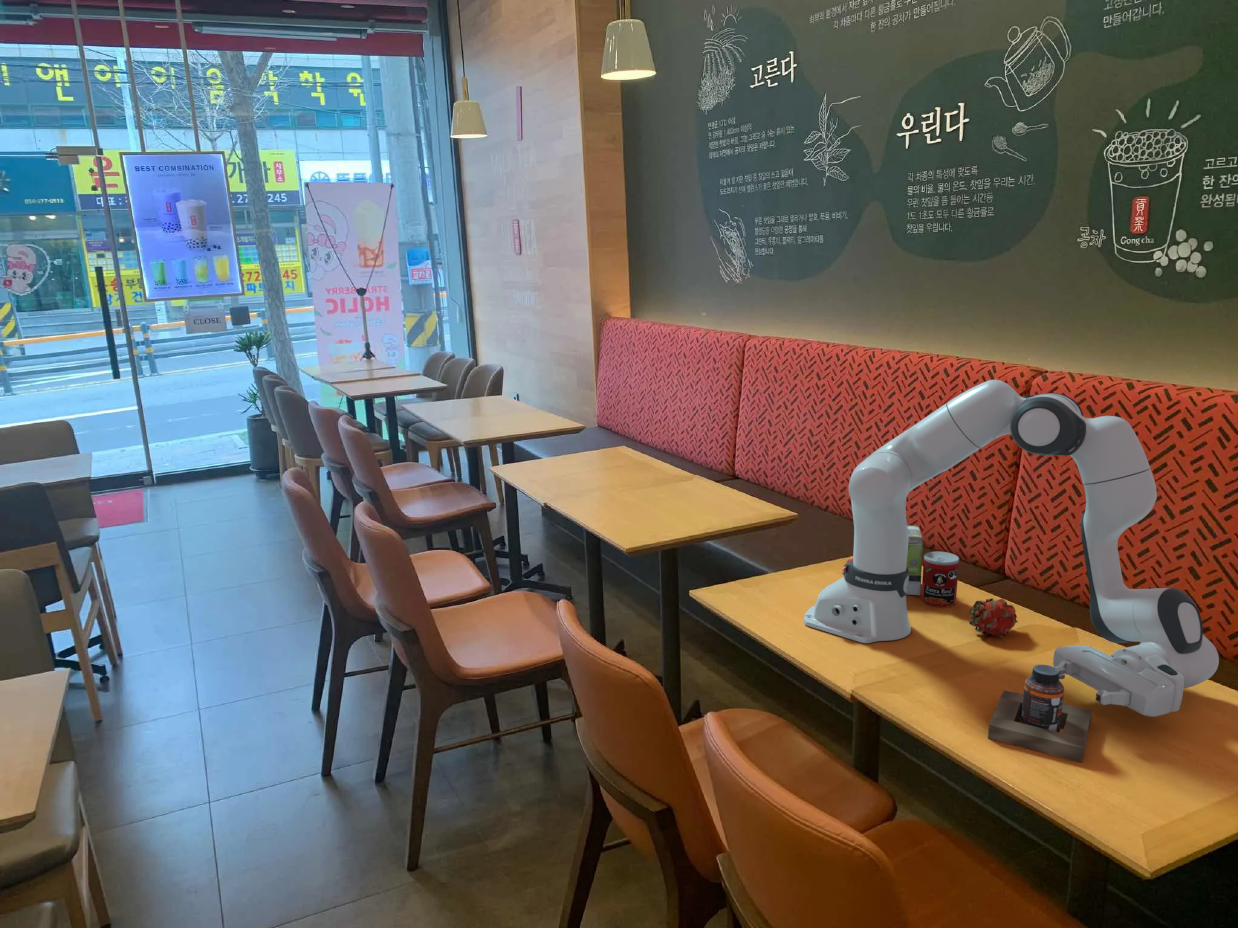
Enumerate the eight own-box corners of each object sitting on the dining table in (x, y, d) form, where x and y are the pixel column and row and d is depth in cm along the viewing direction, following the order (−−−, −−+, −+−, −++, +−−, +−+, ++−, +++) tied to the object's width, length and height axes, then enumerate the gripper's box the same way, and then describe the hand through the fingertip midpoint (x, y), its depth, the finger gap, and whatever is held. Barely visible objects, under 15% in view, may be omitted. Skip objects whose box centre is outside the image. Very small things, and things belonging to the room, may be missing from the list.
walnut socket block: (987, 738, 146) (988, 724, 145) (1002, 702, 157) (1003, 689, 156) (1081, 762, 138) (1083, 748, 138) (1090, 723, 150) (1091, 709, 149)
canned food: (920, 605, 201) (923, 560, 199) (921, 593, 208) (924, 549, 206) (955, 609, 198) (959, 564, 196) (956, 597, 205) (959, 553, 203)
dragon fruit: (965, 644, 184) (1006, 641, 189) (995, 633, 177) (1037, 631, 182) (953, 604, 188) (994, 603, 193) (982, 593, 181) (1024, 592, 186)
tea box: (916, 582, 216) (920, 524, 212) (920, 597, 206) (924, 537, 203) (853, 578, 219) (856, 521, 216) (854, 592, 209) (857, 533, 206)
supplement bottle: (1063, 741, 144) (1070, 678, 142) (1025, 738, 145) (1031, 676, 143) (1053, 723, 150) (1060, 662, 147) (1016, 720, 151) (1022, 660, 148)
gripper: (1089, 632, 162) (1030, 644, 157) (1193, 681, 143) (1130, 695, 138) (1085, 663, 163) (1027, 676, 159) (1187, 715, 144) (1125, 731, 140)
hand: (1075, 685), depth 148 cm, fingers open, 8 cm apart
